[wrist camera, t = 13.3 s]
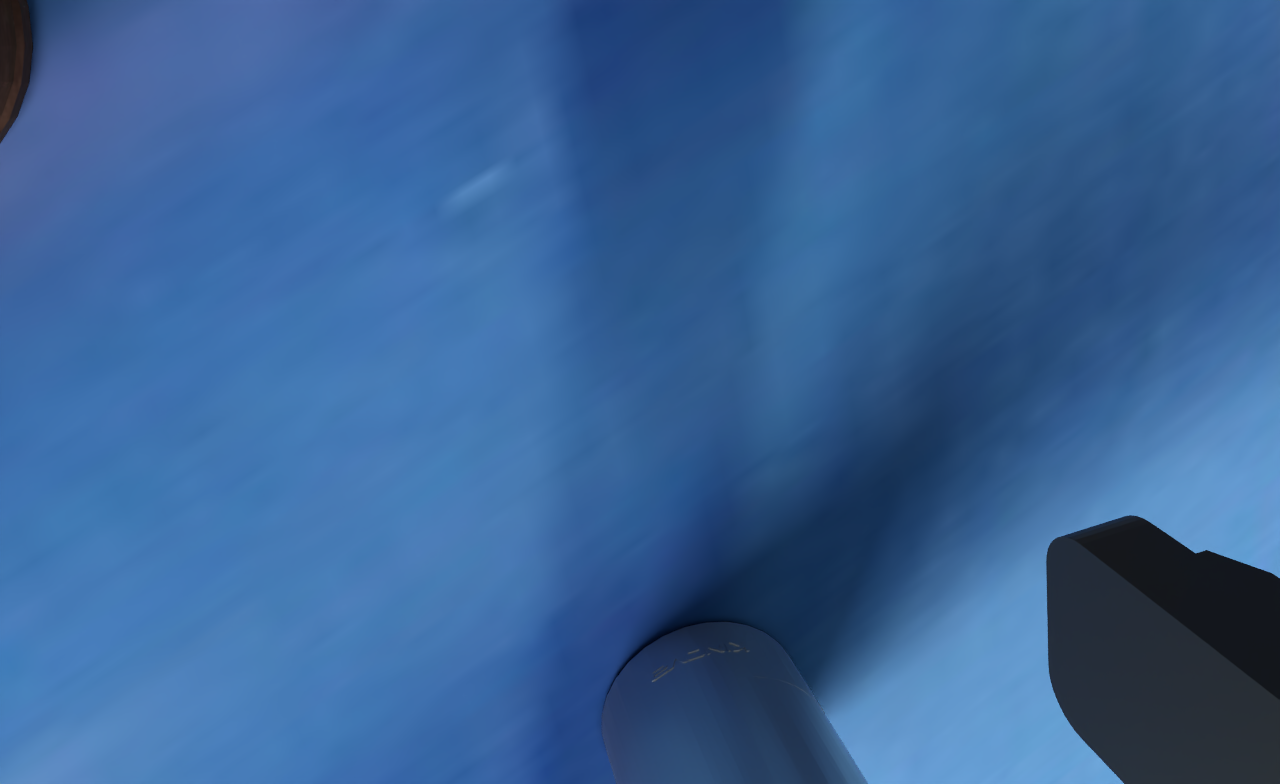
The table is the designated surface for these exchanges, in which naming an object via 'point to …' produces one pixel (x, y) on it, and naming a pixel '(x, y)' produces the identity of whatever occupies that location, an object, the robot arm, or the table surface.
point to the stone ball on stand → (13, 59)
